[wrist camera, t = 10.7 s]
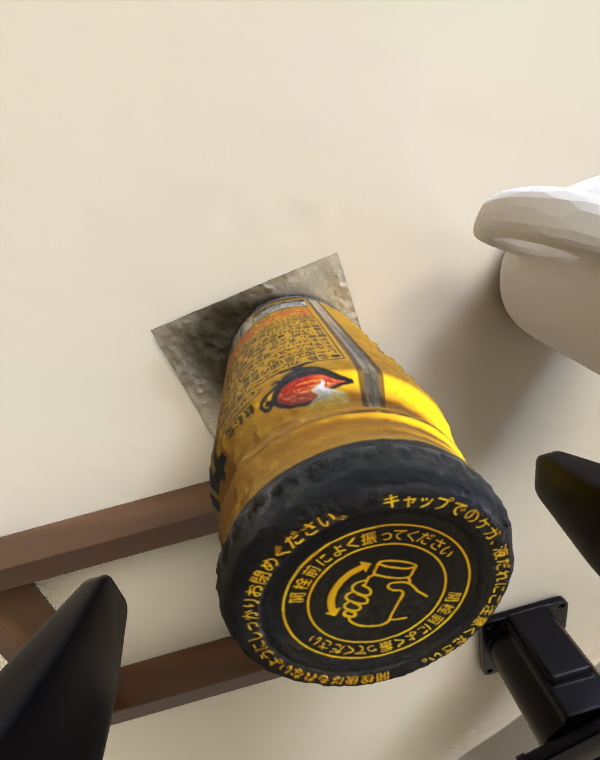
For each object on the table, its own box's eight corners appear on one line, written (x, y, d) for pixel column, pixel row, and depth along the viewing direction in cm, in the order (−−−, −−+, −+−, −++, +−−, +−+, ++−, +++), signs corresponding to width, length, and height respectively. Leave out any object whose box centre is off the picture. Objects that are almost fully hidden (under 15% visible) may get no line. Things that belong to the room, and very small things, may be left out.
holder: (304, 627, 24) (309, 669, 22) (93, 687, 24) (76, 735, 22) (248, 469, 19) (247, 503, 17) (-25, 543, 19) (-64, 587, 16)
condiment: (381, 394, 18) (581, 647, 7) (226, 457, 18) (191, 792, 7) (335, 251, 15) (555, 309, 4) (152, 328, 16) (-86, 567, 5)
